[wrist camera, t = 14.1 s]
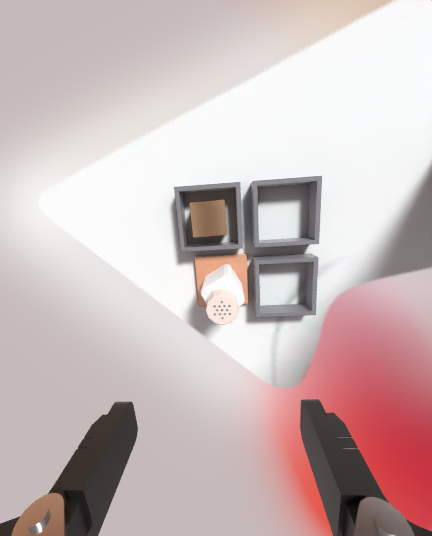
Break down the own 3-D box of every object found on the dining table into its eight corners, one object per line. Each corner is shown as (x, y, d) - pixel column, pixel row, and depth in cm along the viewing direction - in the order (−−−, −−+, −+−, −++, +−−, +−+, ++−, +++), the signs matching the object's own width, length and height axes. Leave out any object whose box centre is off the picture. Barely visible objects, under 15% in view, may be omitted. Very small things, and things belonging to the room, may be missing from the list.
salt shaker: (219, 299, 32) (216, 335, 23) (203, 276, 31) (193, 304, 22) (243, 285, 31) (250, 316, 22) (228, 261, 31) (228, 283, 21)
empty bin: (313, 178, 28) (321, 175, 26) (311, 241, 30) (318, 243, 28) (250, 183, 29) (253, 181, 26) (252, 244, 31) (254, 247, 28)
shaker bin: (311, 253, 31) (318, 257, 28) (308, 307, 32) (315, 314, 30) (252, 256, 31) (255, 260, 29) (254, 309, 33) (256, 317, 31)
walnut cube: (224, 200, 30) (224, 199, 26) (226, 231, 30) (226, 234, 27) (194, 203, 30) (189, 202, 26) (197, 233, 31) (193, 237, 27)
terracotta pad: (246, 253, 31) (246, 254, 30) (247, 301, 33) (248, 303, 32) (195, 256, 31) (194, 257, 31) (199, 303, 33) (198, 305, 32)
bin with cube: (239, 184, 29) (240, 182, 26) (241, 245, 31) (242, 248, 28) (178, 189, 29) (174, 187, 27) (184, 248, 31) (181, 251, 29)
